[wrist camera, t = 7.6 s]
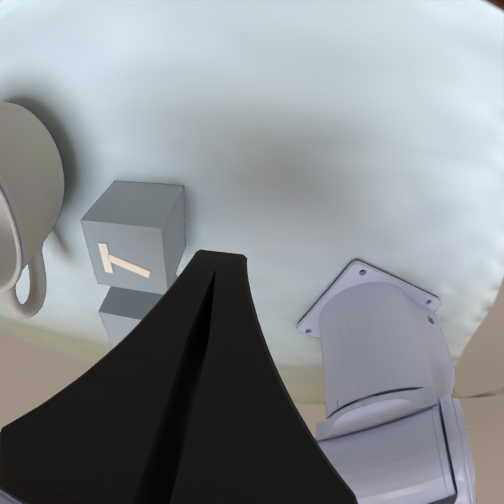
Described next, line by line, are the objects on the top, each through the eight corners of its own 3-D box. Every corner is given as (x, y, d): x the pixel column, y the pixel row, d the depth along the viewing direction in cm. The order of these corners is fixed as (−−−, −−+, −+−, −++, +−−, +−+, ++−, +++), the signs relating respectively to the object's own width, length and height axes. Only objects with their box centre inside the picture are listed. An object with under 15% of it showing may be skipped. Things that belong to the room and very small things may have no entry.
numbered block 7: (184, 185, 18) (160, 230, 14) (185, 246, 21) (167, 297, 17) (115, 180, 18) (79, 221, 14) (124, 238, 21) (96, 285, 17)
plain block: (177, 275, 22) (161, 323, 19) (181, 315, 25) (168, 360, 22) (121, 267, 22) (98, 311, 19) (130, 307, 25) (113, 349, 22)
